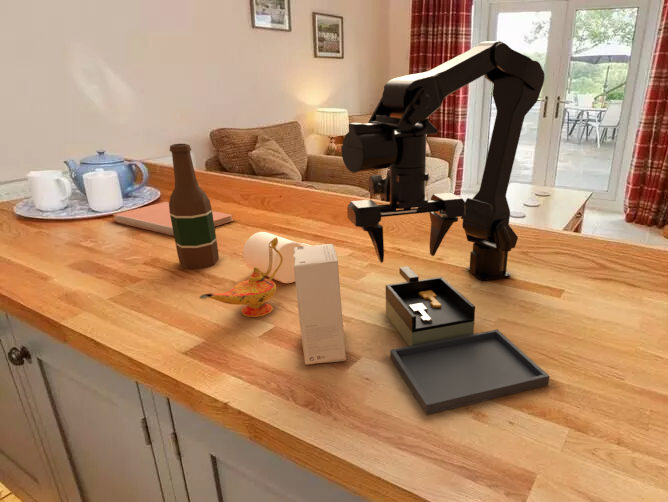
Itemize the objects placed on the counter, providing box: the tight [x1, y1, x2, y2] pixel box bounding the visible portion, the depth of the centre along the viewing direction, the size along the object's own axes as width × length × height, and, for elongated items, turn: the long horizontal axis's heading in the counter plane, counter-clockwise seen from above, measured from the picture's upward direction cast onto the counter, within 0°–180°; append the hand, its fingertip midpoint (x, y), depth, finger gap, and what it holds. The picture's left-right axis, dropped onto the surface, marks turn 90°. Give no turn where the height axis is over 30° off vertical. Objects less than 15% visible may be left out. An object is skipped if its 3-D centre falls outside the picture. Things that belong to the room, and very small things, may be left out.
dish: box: [385, 265, 476, 332], centre depth 78 cm, size 17×10×3 cm, turn 21°
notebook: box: [112, 201, 235, 237], centre depth 129 cm, size 27×17×2 cm, turn 61°
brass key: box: [419, 290, 441, 308], centre depth 79 cm, size 6×2×1 cm, turn 21°
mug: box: [242, 231, 311, 284], centre depth 96 cm, size 12×10×8 cm
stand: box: [385, 299, 475, 347], centre depth 77 cm, size 12×10×3 cm
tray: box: [389, 328, 551, 416], centre depth 66 cm, size 17×13×1 cm
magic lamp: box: [199, 237, 283, 318], centre depth 79 cm, size 7×18×11 cm, turn 153°
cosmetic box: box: [293, 243, 347, 365], centre depth 68 cm, size 8×6×15 cm
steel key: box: [409, 303, 432, 323], centre depth 74 cm, size 6×2×1 cm, turn 21°
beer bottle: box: [168, 143, 220, 269], centre depth 98 cm, size 8×8×24 cm
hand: (407, 258), depth 83 cm, fingers open, 9 cm apart
